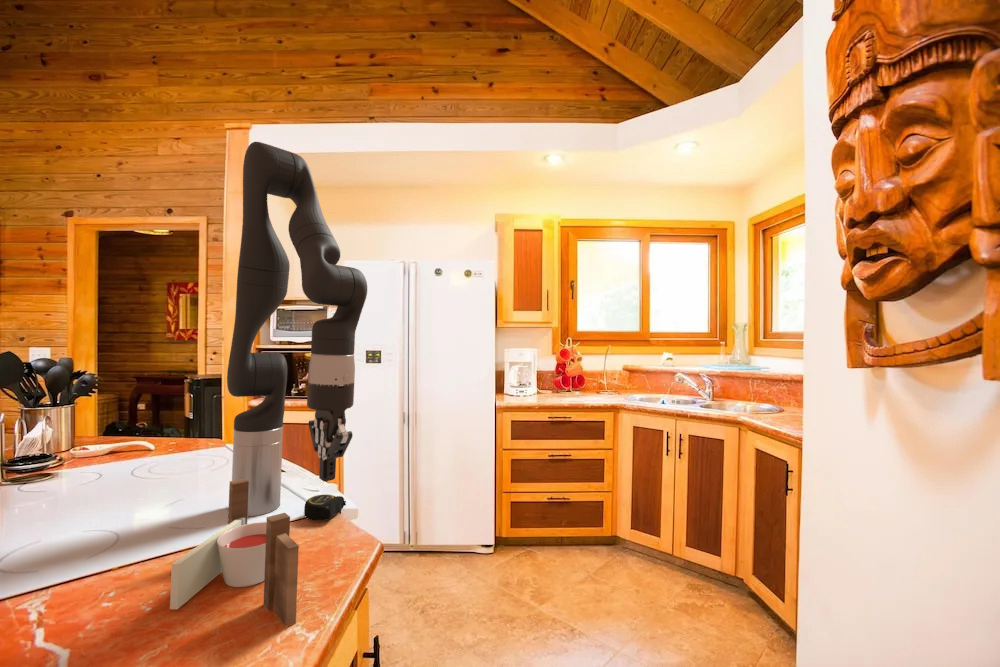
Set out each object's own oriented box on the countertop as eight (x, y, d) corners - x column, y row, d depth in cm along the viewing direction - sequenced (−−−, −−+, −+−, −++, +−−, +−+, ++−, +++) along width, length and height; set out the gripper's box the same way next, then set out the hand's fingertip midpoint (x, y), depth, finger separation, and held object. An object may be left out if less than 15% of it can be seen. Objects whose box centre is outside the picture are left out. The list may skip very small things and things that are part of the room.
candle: (206, 596, 61) (207, 551, 61) (226, 564, 70) (228, 524, 70) (276, 588, 64) (277, 544, 64) (287, 557, 72) (289, 519, 72)
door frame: (226, 551, 73) (229, 481, 74) (242, 547, 75) (245, 478, 75) (281, 629, 55) (284, 534, 55) (300, 620, 56) (303, 528, 57)
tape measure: (328, 525, 85) (329, 506, 85) (296, 522, 86) (297, 503, 86) (345, 512, 92) (346, 494, 92) (315, 509, 93) (316, 491, 93)
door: (230, 552, 73) (231, 516, 73) (245, 553, 73) (246, 516, 73) (158, 610, 57) (160, 563, 57) (178, 610, 57) (180, 564, 57)
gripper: (294, 376, 77) (290, 473, 77) (326, 386, 67) (321, 496, 67) (336, 375, 82) (331, 465, 82) (370, 383, 73) (365, 485, 73)
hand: (327, 479), depth 75 cm, fingers closed
